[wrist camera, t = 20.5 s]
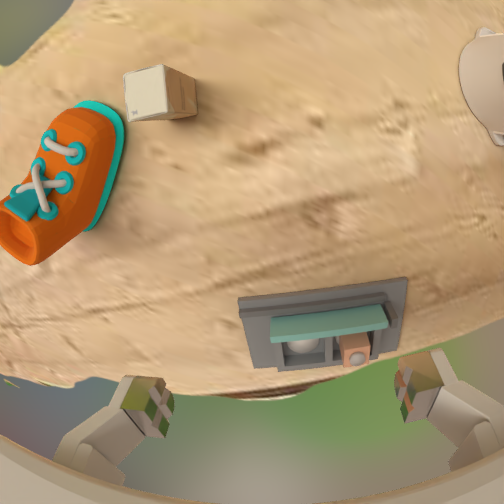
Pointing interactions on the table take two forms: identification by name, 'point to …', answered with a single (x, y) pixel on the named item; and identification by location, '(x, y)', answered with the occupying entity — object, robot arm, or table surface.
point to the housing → (314, 301)
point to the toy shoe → (63, 183)
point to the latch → (327, 324)
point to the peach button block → (354, 349)
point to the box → (159, 94)
